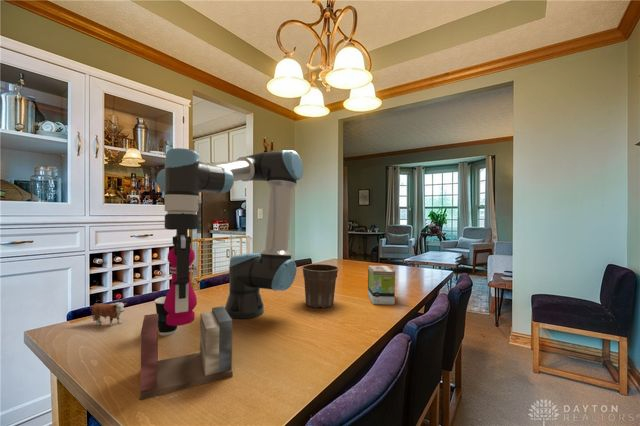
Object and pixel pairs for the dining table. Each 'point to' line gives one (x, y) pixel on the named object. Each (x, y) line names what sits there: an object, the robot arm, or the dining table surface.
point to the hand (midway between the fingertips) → (180, 306)
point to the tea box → (381, 284)
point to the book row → (187, 356)
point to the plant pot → (320, 284)
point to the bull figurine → (107, 312)
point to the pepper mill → (169, 302)
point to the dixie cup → (163, 318)
